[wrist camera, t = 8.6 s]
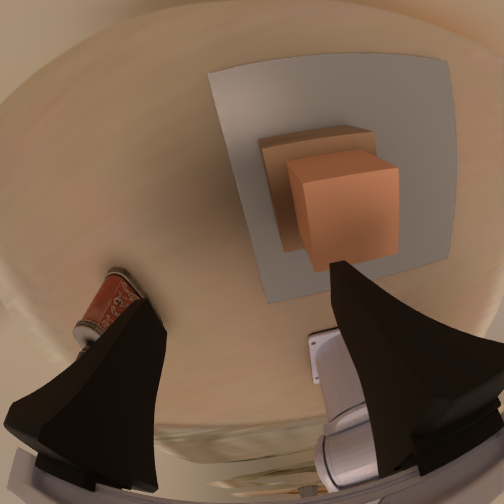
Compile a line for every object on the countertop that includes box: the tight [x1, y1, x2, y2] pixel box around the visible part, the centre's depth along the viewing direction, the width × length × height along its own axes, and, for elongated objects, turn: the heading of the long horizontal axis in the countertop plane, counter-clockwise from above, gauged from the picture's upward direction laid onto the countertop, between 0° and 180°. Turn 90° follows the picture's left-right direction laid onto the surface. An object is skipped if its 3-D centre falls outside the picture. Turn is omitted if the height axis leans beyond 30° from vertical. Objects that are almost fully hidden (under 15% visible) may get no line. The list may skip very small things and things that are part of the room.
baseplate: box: [207, 53, 457, 304], centre depth 18 cm, size 18×18×1 cm
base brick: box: [258, 125, 377, 253], centre depth 16 cm, size 6×6×4 cm
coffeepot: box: [298, 485, 318, 498], centre depth 74 cm, size 15×9×18 cm, turn 78°
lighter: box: [73, 267, 163, 360], centre depth 19 cm, size 8×3×10 cm, turn 18°
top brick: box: [286, 149, 399, 273], centre depth 12 cm, size 4×4×4 cm
